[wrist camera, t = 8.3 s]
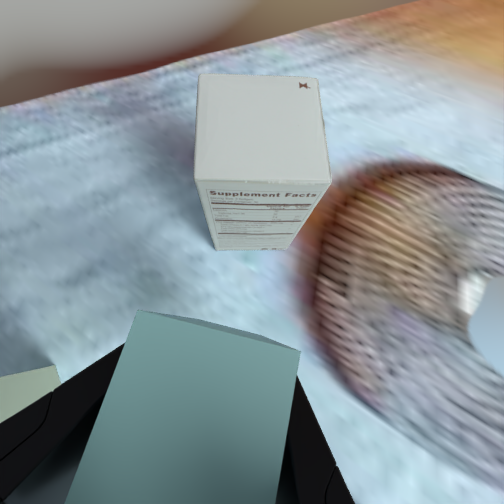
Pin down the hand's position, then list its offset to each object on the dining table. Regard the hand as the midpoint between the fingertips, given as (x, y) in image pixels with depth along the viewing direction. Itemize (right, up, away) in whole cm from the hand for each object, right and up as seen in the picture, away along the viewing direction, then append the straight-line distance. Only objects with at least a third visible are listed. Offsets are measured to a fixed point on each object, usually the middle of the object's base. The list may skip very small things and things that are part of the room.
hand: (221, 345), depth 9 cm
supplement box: (+1, +7, +17) cm, 18 cm away
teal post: (-1, -3, +6) cm, 7 cm away
